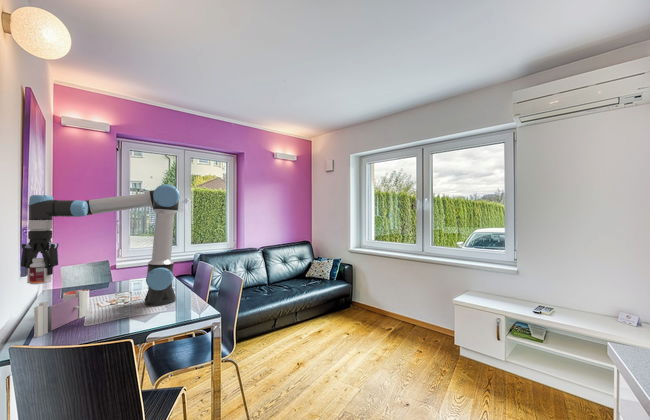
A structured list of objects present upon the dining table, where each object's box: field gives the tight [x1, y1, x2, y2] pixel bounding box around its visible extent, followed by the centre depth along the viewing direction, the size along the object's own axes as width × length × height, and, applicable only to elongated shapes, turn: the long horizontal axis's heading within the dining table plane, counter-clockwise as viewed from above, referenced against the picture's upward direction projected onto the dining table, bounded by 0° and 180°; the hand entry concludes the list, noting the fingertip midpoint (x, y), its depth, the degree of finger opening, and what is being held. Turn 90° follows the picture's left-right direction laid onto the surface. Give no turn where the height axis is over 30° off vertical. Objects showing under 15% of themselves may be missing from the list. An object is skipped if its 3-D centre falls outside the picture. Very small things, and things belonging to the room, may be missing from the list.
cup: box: [62, 289, 90, 311], centre depth 144 cm, size 10×10×10 cm
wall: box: [33, 289, 88, 338], centre depth 126 cm, size 2×25×13 cm, turn 2°
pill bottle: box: [29, 256, 50, 285], centre depth 125 cm, size 6×6×11 cm
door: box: [48, 297, 79, 333], centre depth 126 cm, size 3×15×10 cm, turn 2°
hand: (39, 282), depth 124 cm, fingers closed on pill bottle, 6 cm apart
